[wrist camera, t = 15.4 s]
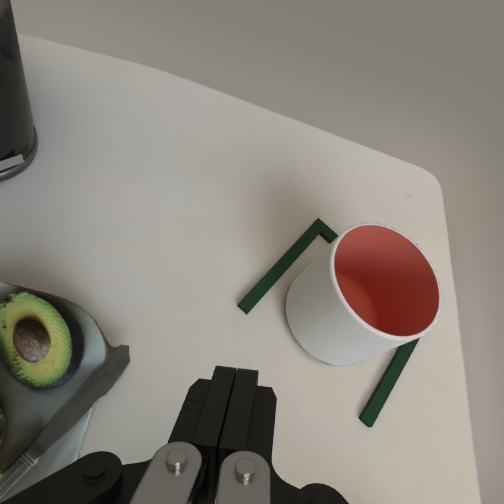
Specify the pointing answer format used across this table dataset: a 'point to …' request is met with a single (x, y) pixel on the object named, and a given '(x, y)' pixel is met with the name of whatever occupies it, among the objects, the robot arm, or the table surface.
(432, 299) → the cup
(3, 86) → the robot arm
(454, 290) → the table surface
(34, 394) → the salad plate
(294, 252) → the frame
